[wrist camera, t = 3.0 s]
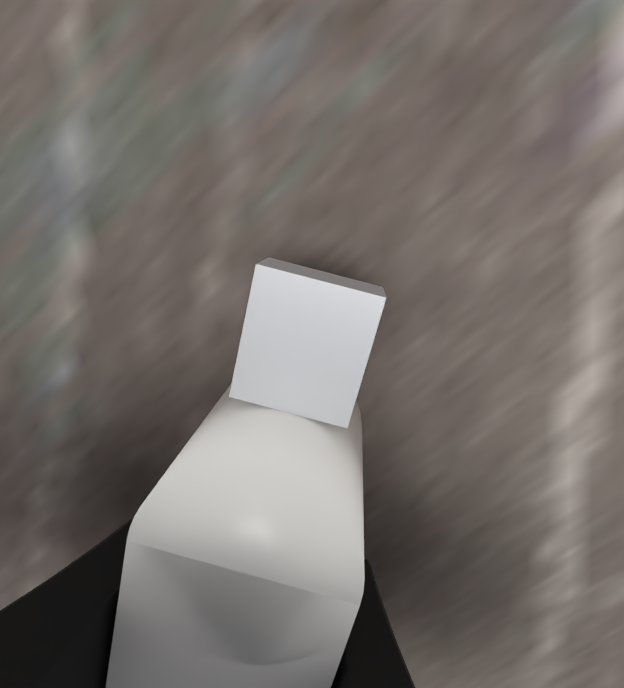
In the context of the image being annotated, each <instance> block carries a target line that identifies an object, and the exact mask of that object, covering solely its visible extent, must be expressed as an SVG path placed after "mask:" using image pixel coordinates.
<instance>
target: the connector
mask: <svg viewBox="0 0 624 688" xmlns="http://www.w3.org/2000/svg"><path fill="white" fill-rule="evenodd" d="M385 301H386V295H385V292H384V289H383V287H381V286H378V285H374V284H370V283H366V282H362V281H358V280H354V279H351V278H347V277H343V276H339V275H335V274H331V273H327V272H324V271H320V270H316V269H312V268H308V267H304V266H300V265H297V264H293V263H289V262H285V261H281V260H277V259H273V258H270V257H268V258H266V259H264V260H263V261H261V262H259V263H257V264H256V266H255V271H254V276H253V281H252V286H251V291H250V296H249V301H248V306H247V311H246V315H245V320H244V325H243V330H242V335H241V340H240V345H239V350H238V355H237V360H236V365H235V369H234V374H233V379H232V383H231V384H230V386H229V387H228V388H227V390H226V391H225V392H224V394H223V395H222V396H221V398H220V399H219V400H218V402H217V403H216V405H215V406H214V407H213V409H212V410H211V411H210V413H209V414H208V415H207V417H206V418H205V419H204V421H203V422H202V423H201V425H200V426H199V428H198V429H197V430H196V432H195V433H194V434H193V436H192V437H191V438H190V440H189V441H188V442H187V444H186V445H185V446H184V448H183V449H182V451H181V452H180V453H179V455H178V456H177V457H176V459H175V460H174V461H173V463H172V464H171V465H170V467H169V468H168V469H167V471H166V472H165V474H164V475H163V476H162V478H161V479H160V480H159V482H158V483H157V484H156V486H155V487H154V488H153V490H152V491H151V492H150V494H149V495H148V497H147V498H146V499H145V501H144V502H143V503H142V505H141V506H140V508H139V509H138V511H137V513H136V514H135V516H134V518H133V521H132V523H131V526H130V528H129V532H128V537H127V542H126V548H125V555H124V562H123V569H122V576H121V583H120V590H119V597H118V604H117V611H116V618H115V625H114V632H113V639H112V646H111V653H110V660H109V667H108V674H107V681H106V688H331V686H332V683H333V680H334V677H335V674H336V672H337V669H338V666H339V663H340V660H341V657H342V655H343V652H344V649H345V646H346V643H347V641H348V638H349V635H350V632H351V629H352V627H353V624H354V621H355V618H356V615H357V612H358V610H359V607H360V604H361V600H362V596H363V591H364V581H365V574H364V514H363V454H362V419H361V414H360V410H359V407H358V404H357V401H356V398H357V395H358V391H359V388H360V385H361V381H362V378H363V375H364V371H365V368H366V364H367V361H368V358H369V354H370V351H371V348H372V344H373V341H374V338H375V334H376V331H377V328H378V324H379V321H380V318H381V314H382V311H383V307H384V304H385Z"/></svg>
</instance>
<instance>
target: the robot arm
mask: <svg viewBox="0 0 624 688" xmlns="http://www.w3.org/2000/svg"><path fill="white" fill-rule="evenodd" d="M133 518H134V517H133ZM133 518H132V519H131V520H129V521H128V522H127V523H125V524H124V525H123V526H122V527H120V528H119V529H118V530H116V531H115V532H114V533H112V534H111V535H110V536H108V537H107V538H106V539H104V540H103V541H102V542H100V543H99V544H98V545H96V546H95V547H94V548H92V549H91V550H89V551H88V552H87V553H85V554H84V555H82V556H81V557H79V558H78V559H77V560H75V561H74V562H72V563H71V564H70V565H68V566H67V567H65V568H64V569H63V570H61V571H60V572H58V573H57V574H55V575H54V576H53V577H51V578H50V579H48V580H47V581H45V582H44V583H42V584H41V585H39V586H37V587H36V588H34V589H33V590H31V591H30V592H28V593H27V594H25V595H24V596H22V597H20V598H19V599H17V600H16V601H14V602H13V603H11V604H10V605H8V606H7V607H5V608H4V609H2V610H0V688H106V681H107V674H108V667H109V660H110V653H111V646H112V639H113V632H114V625H115V618H116V611H117V604H118V597H119V590H120V583H121V576H122V569H123V562H124V555H125V548H126V542H127V537H128V532H129V528H130V526H131V523H132V521H133ZM364 574H365V581H364V591H363V596H362V600H361V604H360V607H359V610H358V612H357V615H356V618H355V621H354V624H353V627H352V629H351V632H350V635H349V638H348V641H347V643H346V646H345V649H344V652H343V655H342V657H341V660H340V663H339V666H338V669H337V672H336V674H335V677H334V680H333V683H332V686H331V688H415V686H414V684H413V681H412V679H411V676H410V674H409V671H408V669H407V666H406V664H405V661H404V659H403V657H402V654H401V652H400V649H399V647H398V644H397V641H396V639H395V636H394V634H393V631H392V628H391V625H390V623H389V620H388V617H387V614H386V611H385V609H384V606H383V603H382V600H381V597H380V594H379V591H378V588H377V585H376V581H375V578H374V575H373V572H372V568H371V565H370V564H369V562H368V560H367V559H364Z"/></svg>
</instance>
